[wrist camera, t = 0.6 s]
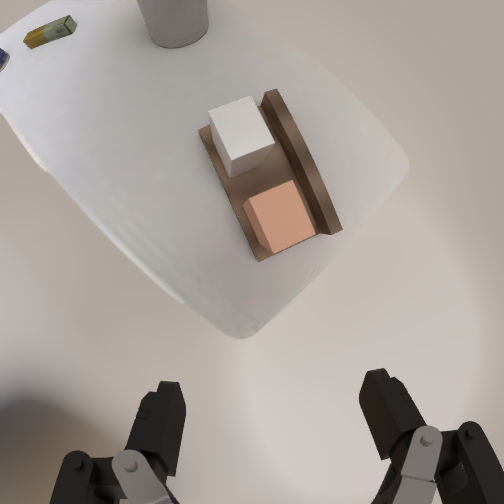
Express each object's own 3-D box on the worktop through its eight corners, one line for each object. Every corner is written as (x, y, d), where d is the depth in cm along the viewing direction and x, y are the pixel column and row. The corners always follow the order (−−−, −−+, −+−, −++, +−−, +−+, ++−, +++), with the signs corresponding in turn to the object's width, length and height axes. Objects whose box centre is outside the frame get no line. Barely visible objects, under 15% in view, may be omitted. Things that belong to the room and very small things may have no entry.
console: (199, 134, 32) (194, 118, 26) (269, 107, 33) (276, 88, 27) (256, 259, 35) (262, 267, 29) (324, 227, 35) (342, 229, 29)
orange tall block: (242, 205, 32) (248, 198, 22) (272, 191, 32) (292, 179, 22) (259, 243, 32) (273, 253, 23) (289, 230, 33) (315, 234, 23)
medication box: (78, 24, 27) (70, 13, 23) (73, 34, 27) (65, 23, 23) (35, 40, 26) (26, 32, 22) (30, 50, 26) (21, 42, 22)
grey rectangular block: (213, 142, 31) (208, 111, 21) (243, 130, 31) (250, 95, 21) (230, 178, 31) (231, 160, 21) (260, 165, 31) (275, 142, 21)
